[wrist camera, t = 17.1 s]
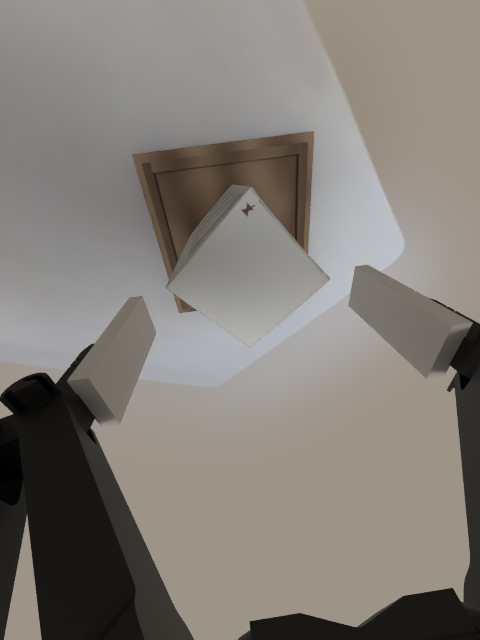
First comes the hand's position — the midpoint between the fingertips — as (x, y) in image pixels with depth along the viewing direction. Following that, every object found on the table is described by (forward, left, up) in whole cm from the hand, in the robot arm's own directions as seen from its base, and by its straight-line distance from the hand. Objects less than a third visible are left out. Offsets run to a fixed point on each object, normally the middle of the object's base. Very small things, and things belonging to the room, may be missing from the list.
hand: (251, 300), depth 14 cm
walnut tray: (0, 0, -21) cm, 21 cm away
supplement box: (0, 0, -20) cm, 20 cm away
